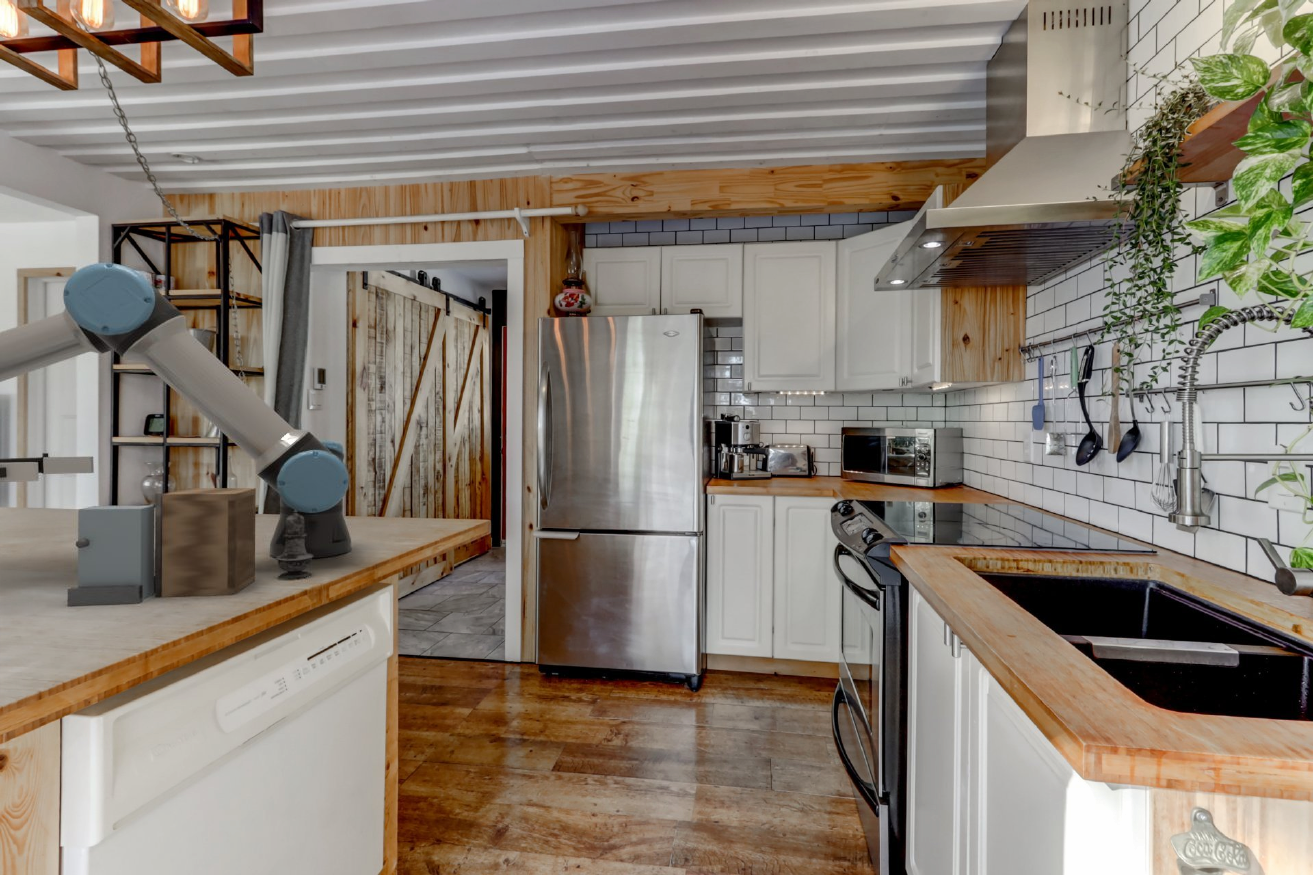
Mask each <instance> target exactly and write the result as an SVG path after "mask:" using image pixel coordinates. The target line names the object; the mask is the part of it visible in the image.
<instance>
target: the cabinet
mask: <svg viewBox="0 0 1313 875" xmlns="http://www.w3.org/2000/svg"><path fill="white" fill-rule="evenodd" d="M256 491H257V490H256V487H253V488H252V487H249V488H248V487H232V488H231V487H229V488H228V487H226V488H225V487H224V488H223V487H219V488H218V487H214V488H213V487H212V488H209V487H206V488H203V487H199V488H197V487H196V488H194V487H190V488H184V489H180V490H175V491H171V492H166V493H155V495H154V496H155V497H154V498H155V501H154V575H155V592H154V597H155V598H171V597H172V598H174V597H175V598H176V597H199V596H200V597H201V596H202V597H203V596H226V595H227V596H229V595H230V594H231V595H235V593H236V594H237V593H238V591H239V592H240V591H242V590H243V589H245V588H247V586H249V585H250V584H253V583H254V582H255V581H256V572H255V571H256V501H257V500H256V499H257V498H256V495H257V492H256ZM241 589H242V590H241Z"/></svg>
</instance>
